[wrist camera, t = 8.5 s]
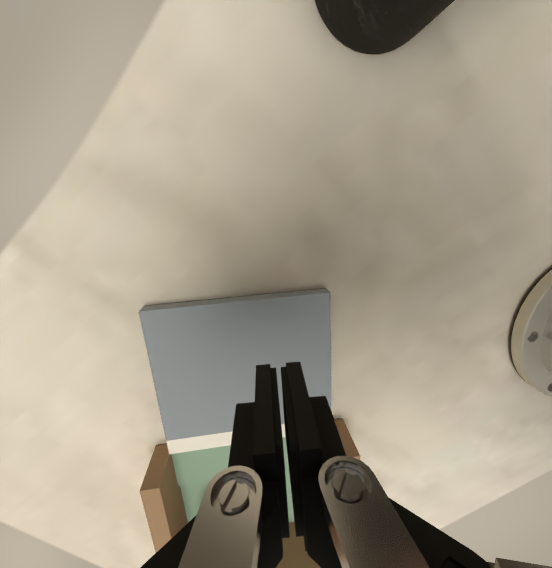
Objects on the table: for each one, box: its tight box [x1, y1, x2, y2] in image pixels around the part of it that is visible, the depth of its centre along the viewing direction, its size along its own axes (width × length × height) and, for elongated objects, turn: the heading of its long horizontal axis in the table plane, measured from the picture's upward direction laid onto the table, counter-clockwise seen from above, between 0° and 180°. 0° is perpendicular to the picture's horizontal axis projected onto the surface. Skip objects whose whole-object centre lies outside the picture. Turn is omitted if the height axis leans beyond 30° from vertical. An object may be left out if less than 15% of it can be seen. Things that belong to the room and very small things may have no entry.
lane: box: [139, 288, 360, 568], centre depth 20 cm, size 14×22×4 cm, turn 4°
